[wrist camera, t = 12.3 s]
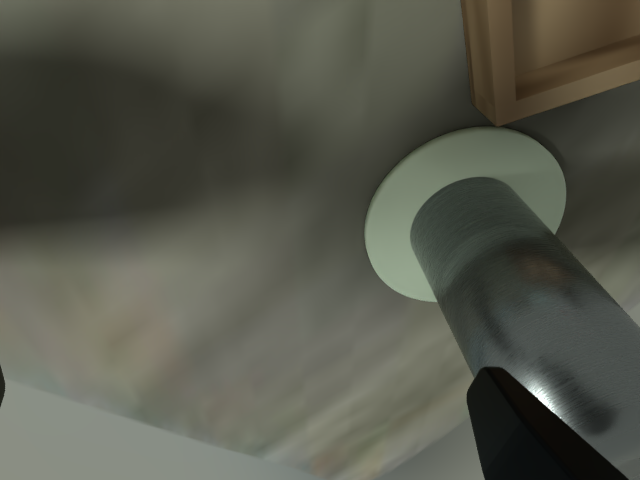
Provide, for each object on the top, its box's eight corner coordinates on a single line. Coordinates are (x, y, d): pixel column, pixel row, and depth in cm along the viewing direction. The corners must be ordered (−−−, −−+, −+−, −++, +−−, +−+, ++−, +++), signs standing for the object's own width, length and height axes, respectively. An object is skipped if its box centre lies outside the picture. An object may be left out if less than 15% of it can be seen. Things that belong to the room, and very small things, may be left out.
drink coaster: (344, 289, 26) (346, 296, 25) (396, 111, 20) (400, 116, 20) (509, 299, 28) (513, 306, 28) (597, 141, 22) (605, 146, 22)
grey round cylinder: (386, 240, 23) (489, 483, 14) (472, 154, 21) (665, 372, 12) (459, 286, 26) (589, 519, 16) (543, 214, 24) (748, 433, 14)
